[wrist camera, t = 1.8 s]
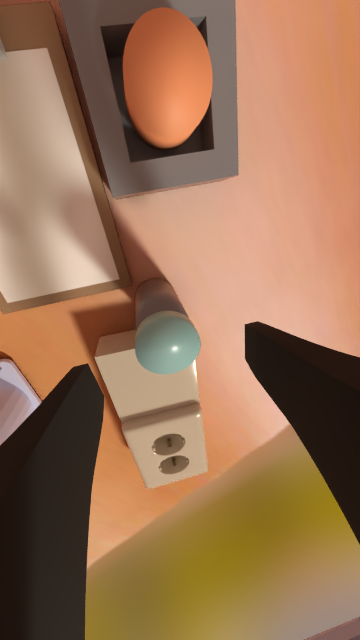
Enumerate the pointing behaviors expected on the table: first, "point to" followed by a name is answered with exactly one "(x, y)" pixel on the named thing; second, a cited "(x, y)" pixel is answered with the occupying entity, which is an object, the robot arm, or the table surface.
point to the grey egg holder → (109, 96)
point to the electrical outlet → (154, 412)
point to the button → (166, 77)
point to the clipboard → (48, 174)
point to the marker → (163, 329)
